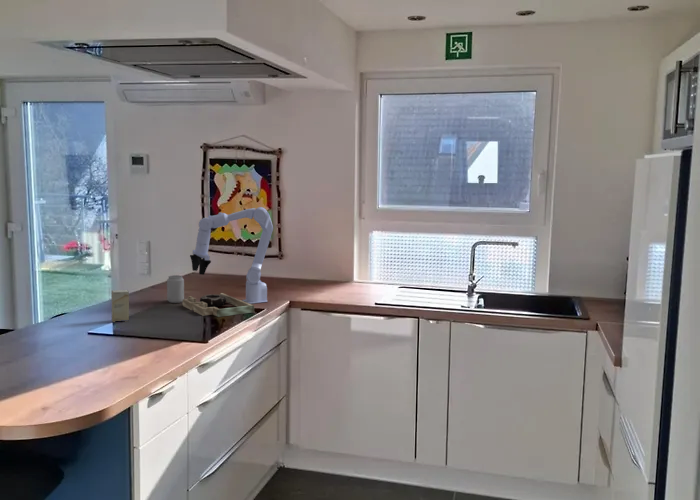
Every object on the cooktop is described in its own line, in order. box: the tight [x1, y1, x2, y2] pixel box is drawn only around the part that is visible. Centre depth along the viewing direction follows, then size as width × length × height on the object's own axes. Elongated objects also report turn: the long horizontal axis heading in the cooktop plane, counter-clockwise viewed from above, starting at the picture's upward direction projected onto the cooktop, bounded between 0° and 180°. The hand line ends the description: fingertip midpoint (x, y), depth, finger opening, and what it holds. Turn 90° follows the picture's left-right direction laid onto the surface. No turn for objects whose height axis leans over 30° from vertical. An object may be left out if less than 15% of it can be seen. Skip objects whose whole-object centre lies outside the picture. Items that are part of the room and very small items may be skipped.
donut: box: [199, 293, 227, 308], centre depth 286 cm, size 12×12×4 cm
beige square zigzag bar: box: [182, 292, 255, 318], centre depth 279 cm, size 22×31×3 cm
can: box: [166, 274, 185, 304], centre depth 288 cm, size 8×8×12 cm
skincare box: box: [111, 289, 130, 323], centre depth 251 cm, size 6×4×12 cm
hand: (198, 272), depth 290 cm, fingers open, 7 cm apart
